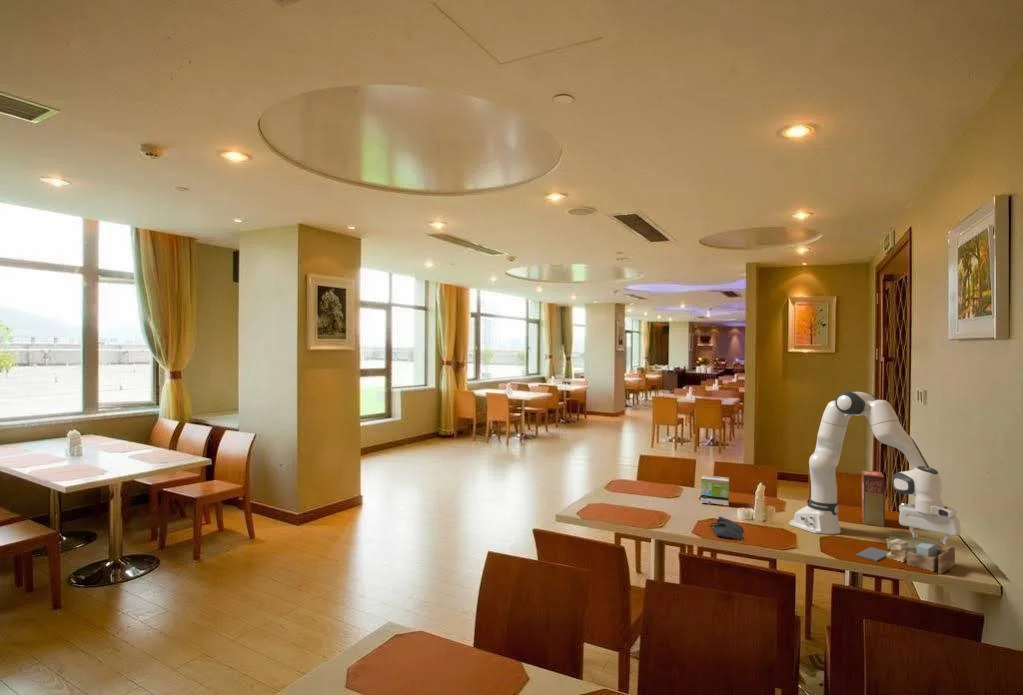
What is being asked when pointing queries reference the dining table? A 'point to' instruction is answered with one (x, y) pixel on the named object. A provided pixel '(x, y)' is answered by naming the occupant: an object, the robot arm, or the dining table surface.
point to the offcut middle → (899, 552)
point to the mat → (872, 554)
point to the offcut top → (899, 544)
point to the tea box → (715, 490)
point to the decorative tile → (909, 538)
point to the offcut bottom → (896, 557)
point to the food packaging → (873, 498)
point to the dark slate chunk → (727, 529)
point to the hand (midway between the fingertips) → (929, 541)
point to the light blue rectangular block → (927, 549)
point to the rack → (933, 560)
